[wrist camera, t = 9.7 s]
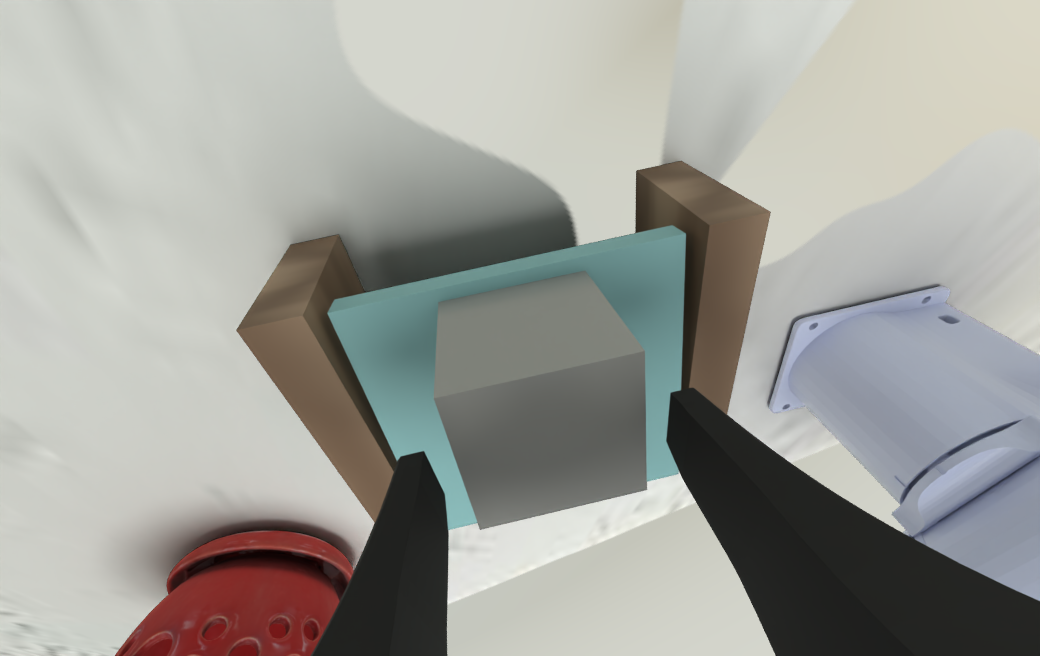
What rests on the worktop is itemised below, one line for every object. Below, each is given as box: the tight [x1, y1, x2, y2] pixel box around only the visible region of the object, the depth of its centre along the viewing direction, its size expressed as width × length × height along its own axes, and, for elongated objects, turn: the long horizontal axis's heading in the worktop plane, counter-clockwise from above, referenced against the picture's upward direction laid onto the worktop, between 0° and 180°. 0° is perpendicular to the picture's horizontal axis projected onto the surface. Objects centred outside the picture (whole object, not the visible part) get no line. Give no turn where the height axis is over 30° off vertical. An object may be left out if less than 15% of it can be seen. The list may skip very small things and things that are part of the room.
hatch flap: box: [327, 225, 686, 530], centre depth 18 cm, size 12×12×3 cm
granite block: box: [434, 271, 647, 530], centre depth 13 cm, size 5×5×5 cm
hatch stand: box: [236, 161, 771, 522], centre depth 20 cm, size 17×15×6 cm
